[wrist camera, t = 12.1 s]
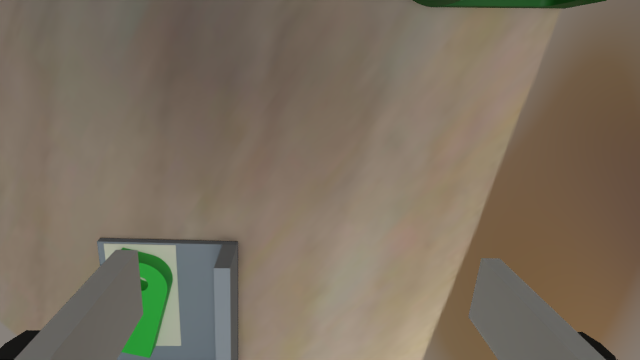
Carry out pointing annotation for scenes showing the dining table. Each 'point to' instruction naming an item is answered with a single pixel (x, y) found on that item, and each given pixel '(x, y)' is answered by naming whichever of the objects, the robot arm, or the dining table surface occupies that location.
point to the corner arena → (192, 297)
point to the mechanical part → (150, 304)
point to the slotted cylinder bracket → (506, 3)
